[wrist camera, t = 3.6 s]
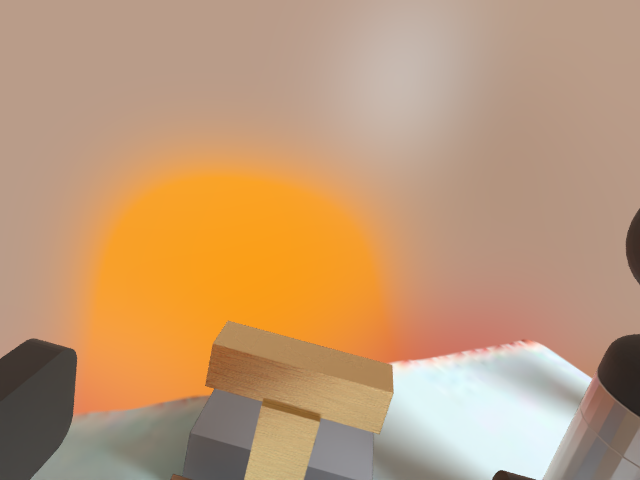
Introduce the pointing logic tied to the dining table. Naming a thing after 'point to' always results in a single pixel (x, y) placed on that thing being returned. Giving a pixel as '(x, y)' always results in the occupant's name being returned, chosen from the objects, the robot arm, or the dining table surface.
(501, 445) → the dining table surface
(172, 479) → the block
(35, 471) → the robot arm
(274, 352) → the t key
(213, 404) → the block
